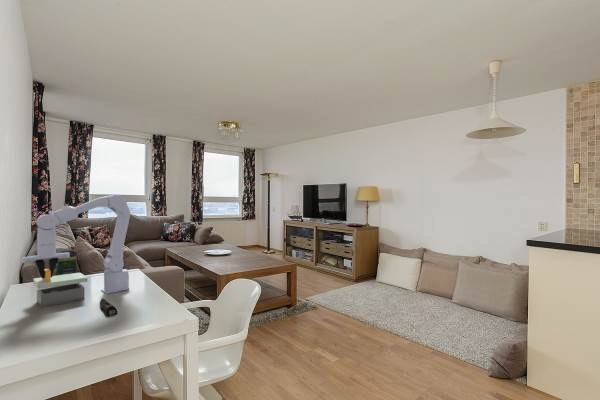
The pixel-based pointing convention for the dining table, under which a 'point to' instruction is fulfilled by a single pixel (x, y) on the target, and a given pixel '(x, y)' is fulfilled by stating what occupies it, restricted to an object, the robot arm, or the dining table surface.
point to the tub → (60, 294)
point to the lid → (58, 279)
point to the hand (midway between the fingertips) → (46, 277)
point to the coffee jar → (66, 263)
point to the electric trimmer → (108, 307)
